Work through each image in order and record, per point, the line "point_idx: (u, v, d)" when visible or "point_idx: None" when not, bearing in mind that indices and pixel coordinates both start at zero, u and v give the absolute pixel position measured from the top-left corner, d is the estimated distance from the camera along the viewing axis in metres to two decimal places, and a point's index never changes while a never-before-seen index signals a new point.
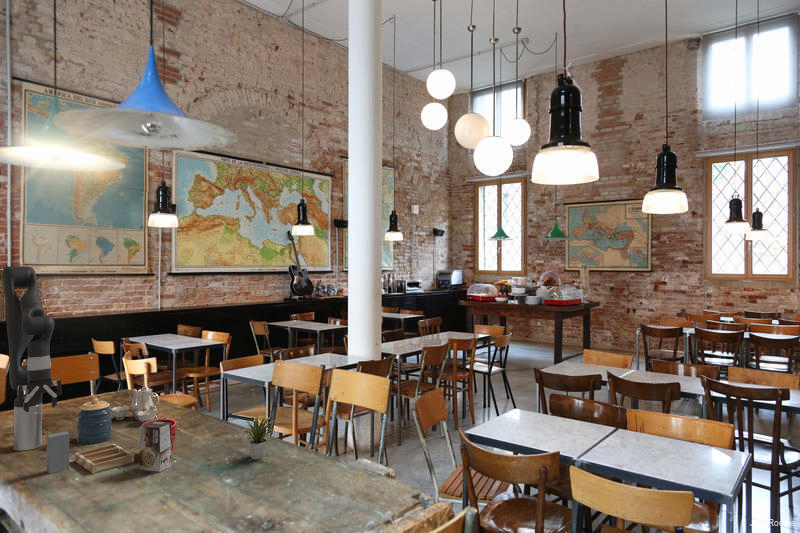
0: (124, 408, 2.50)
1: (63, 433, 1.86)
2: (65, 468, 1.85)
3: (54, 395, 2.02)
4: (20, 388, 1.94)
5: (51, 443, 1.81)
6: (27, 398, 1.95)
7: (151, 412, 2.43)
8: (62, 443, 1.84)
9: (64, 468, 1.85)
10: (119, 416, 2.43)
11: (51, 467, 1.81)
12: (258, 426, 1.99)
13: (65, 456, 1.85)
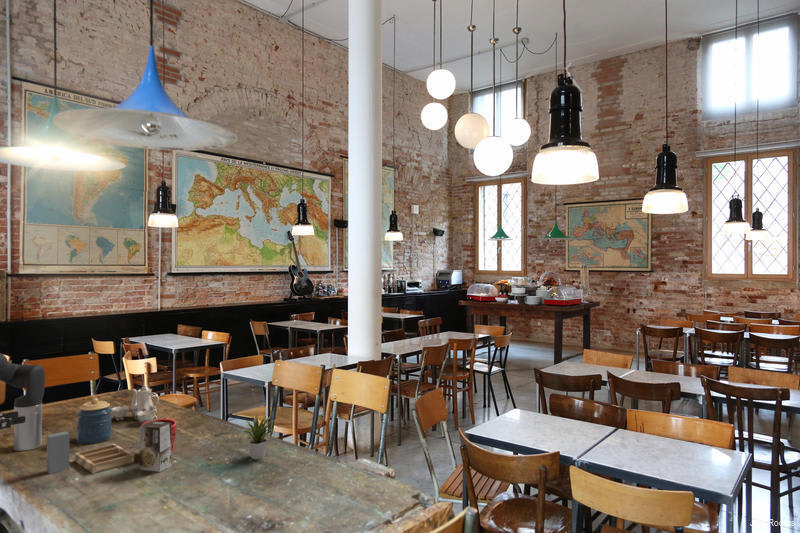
0: (124, 408, 2.50)
1: (63, 433, 1.85)
2: (65, 468, 1.85)
3: None
4: None
5: (51, 443, 1.81)
6: None
7: (151, 412, 2.43)
8: (62, 443, 1.84)
9: (64, 468, 1.85)
10: (119, 416, 2.43)
11: (51, 467, 1.81)
12: (258, 426, 1.99)
13: (65, 456, 1.85)
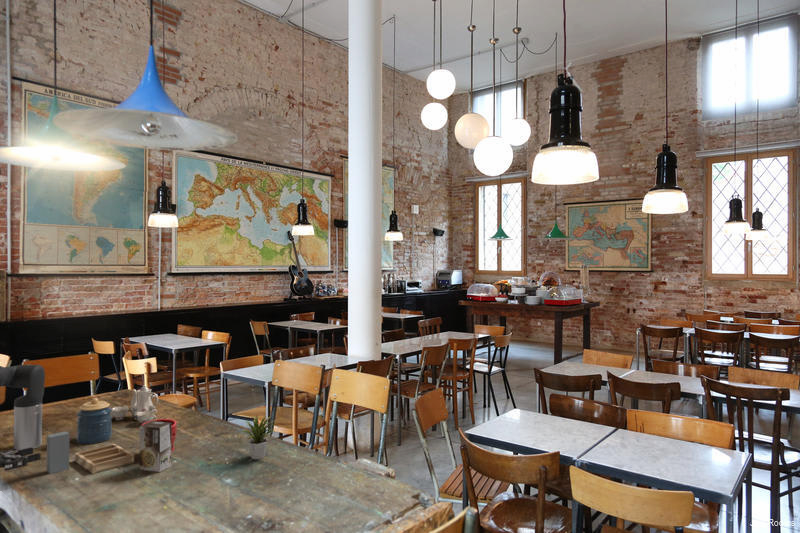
0: (123, 408, 2.49)
1: (63, 433, 1.85)
2: (65, 468, 1.85)
3: None
4: None
5: (51, 443, 1.81)
6: None
7: (150, 412, 2.43)
8: (62, 443, 1.84)
9: (64, 468, 1.85)
10: (118, 416, 2.43)
11: (51, 467, 1.81)
12: (258, 426, 1.99)
13: (65, 456, 1.85)
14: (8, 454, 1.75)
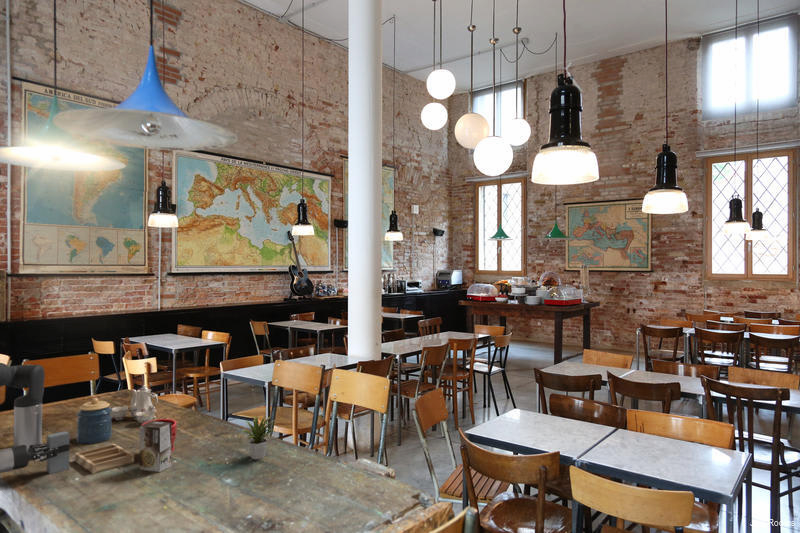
0: (123, 408, 2.49)
1: (63, 433, 1.86)
2: (65, 468, 1.85)
3: None
4: None
5: (51, 443, 1.81)
6: None
7: (150, 412, 2.42)
8: (62, 443, 1.84)
9: (64, 468, 1.85)
10: (118, 416, 2.43)
11: (51, 467, 1.82)
12: (258, 426, 1.99)
13: (65, 456, 1.85)
14: (38, 448, 1.81)
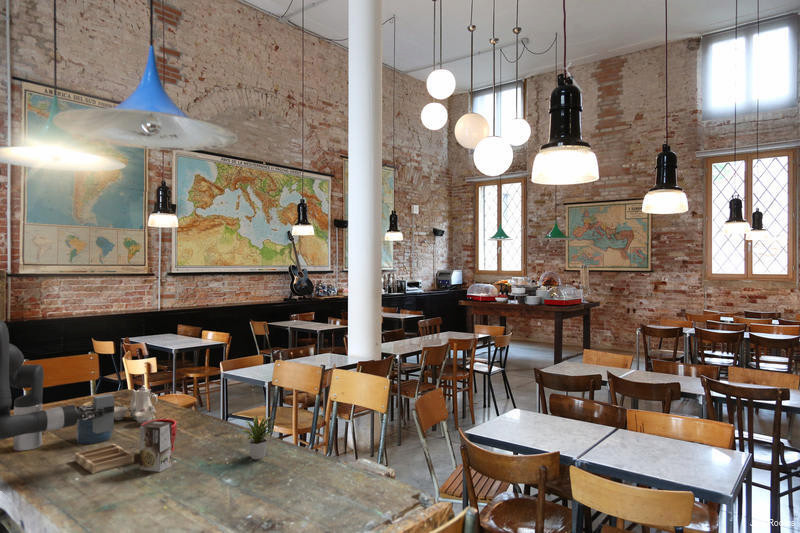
0: (123, 409, 2.49)
1: (108, 395, 1.93)
2: (110, 428, 1.93)
3: None
4: None
5: (97, 404, 1.89)
6: None
7: (149, 413, 2.42)
8: (108, 404, 1.92)
9: (109, 428, 1.92)
10: (117, 416, 2.43)
11: (97, 427, 1.89)
12: (258, 426, 1.99)
13: (110, 417, 1.92)
14: None
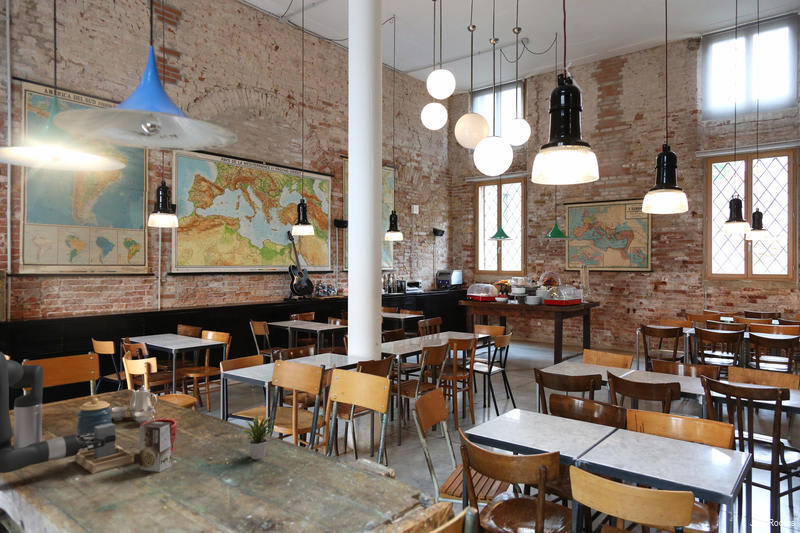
0: (122, 409, 2.49)
1: (109, 425, 1.94)
2: None
3: None
4: None
5: (99, 434, 1.90)
6: None
7: (149, 413, 2.42)
8: (109, 434, 1.92)
9: None
10: (117, 417, 2.43)
11: (99, 457, 1.90)
12: (258, 426, 1.99)
13: (111, 447, 1.93)
14: (86, 437, 1.89)
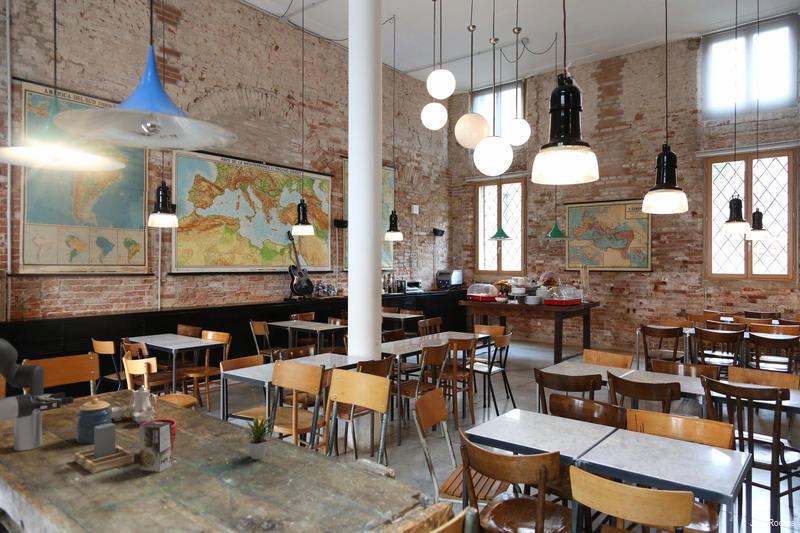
0: (122, 409, 2.49)
1: (109, 425, 1.94)
2: None
3: None
4: None
5: (99, 434, 1.90)
6: None
7: (148, 413, 2.41)
8: (109, 434, 1.92)
9: None
10: (116, 417, 2.42)
11: (99, 457, 1.90)
12: (258, 426, 1.99)
13: (111, 447, 1.93)
14: (42, 397, 1.79)
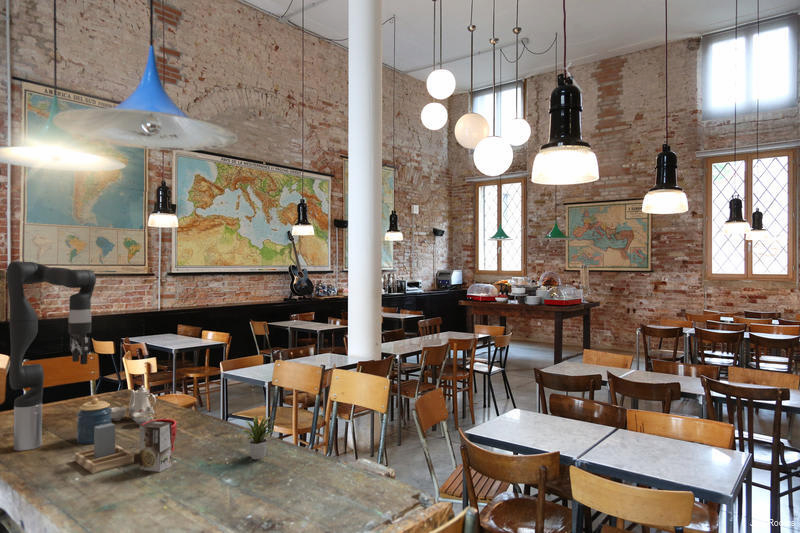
0: (121, 409, 2.48)
1: (109, 425, 1.94)
2: None
3: (80, 352, 1.95)
4: (70, 337, 2.02)
5: (99, 434, 1.90)
6: (72, 348, 2.00)
7: (147, 413, 2.41)
8: (109, 434, 1.92)
9: None
10: (116, 417, 2.42)
11: (99, 457, 1.90)
12: (258, 426, 1.99)
13: (111, 447, 1.93)
14: None
